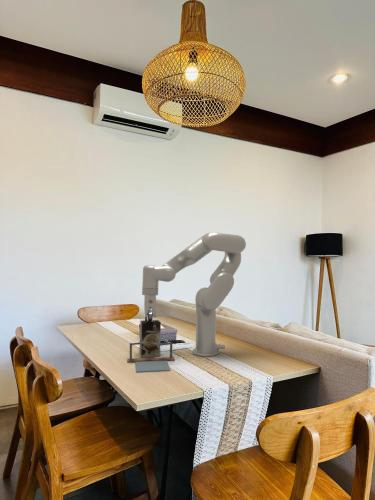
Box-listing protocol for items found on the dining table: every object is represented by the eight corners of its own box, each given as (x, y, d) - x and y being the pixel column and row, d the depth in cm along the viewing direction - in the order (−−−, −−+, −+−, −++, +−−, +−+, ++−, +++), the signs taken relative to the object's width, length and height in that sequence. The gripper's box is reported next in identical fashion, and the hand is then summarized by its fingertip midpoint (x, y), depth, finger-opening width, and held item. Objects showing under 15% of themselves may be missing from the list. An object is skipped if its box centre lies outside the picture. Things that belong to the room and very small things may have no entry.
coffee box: (141, 358, 158) (141, 322, 158) (139, 354, 164) (139, 320, 164) (160, 356, 161) (161, 322, 161) (158, 352, 167) (158, 319, 167)
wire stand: (173, 359, 158) (174, 340, 158) (174, 361, 154) (175, 343, 154) (127, 361, 154) (127, 342, 154) (127, 363, 151) (127, 344, 151)
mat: (167, 361, 153) (167, 360, 153) (170, 370, 142) (170, 369, 142) (135, 363, 151) (135, 361, 151) (136, 372, 139) (136, 371, 139)
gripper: (159, 294, 155) (158, 332, 155) (156, 289, 172) (155, 324, 172) (143, 293, 153) (141, 332, 153) (141, 289, 170) (140, 324, 170)
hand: (148, 327), depth 162 cm, fingers open, 9 cm apart
